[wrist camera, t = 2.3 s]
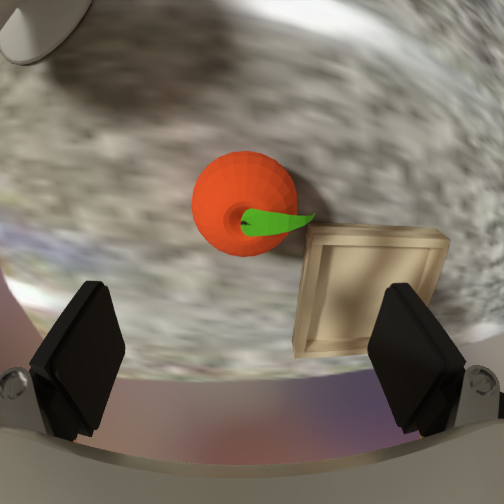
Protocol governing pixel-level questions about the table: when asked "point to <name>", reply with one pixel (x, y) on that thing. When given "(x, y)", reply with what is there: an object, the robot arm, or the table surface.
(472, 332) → the table surface
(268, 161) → the clementine
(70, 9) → the chalice
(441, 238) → the tray
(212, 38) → the table surface
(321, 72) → the table surface
